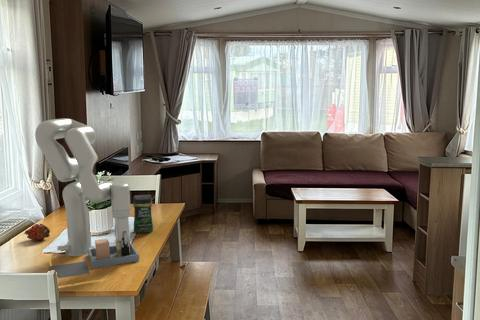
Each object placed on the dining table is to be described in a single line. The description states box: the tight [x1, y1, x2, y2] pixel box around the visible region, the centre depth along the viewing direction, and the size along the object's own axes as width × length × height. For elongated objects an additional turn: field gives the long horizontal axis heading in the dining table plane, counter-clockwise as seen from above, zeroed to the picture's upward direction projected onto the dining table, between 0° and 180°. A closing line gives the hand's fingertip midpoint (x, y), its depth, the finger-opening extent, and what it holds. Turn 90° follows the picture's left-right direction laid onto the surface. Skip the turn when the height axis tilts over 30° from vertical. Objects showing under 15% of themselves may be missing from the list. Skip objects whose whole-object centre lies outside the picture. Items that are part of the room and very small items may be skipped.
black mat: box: [49, 260, 90, 279], centre depth 193 cm, size 14×14×1 cm
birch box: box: [115, 238, 131, 257], centre depth 206 cm, size 5×5×8 cm
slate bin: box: [87, 242, 140, 269], centre depth 205 cm, size 19×16×4 cm
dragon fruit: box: [24, 223, 51, 242], centre depth 231 cm, size 8×8×12 cm
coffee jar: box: [132, 194, 154, 234], centre depth 243 cm, size 10×8×19 cm
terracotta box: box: [94, 238, 110, 260], centre depth 203 cm, size 5×5×8 cm
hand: (123, 252), depth 207 cm, fingers open, 9 cm apart
